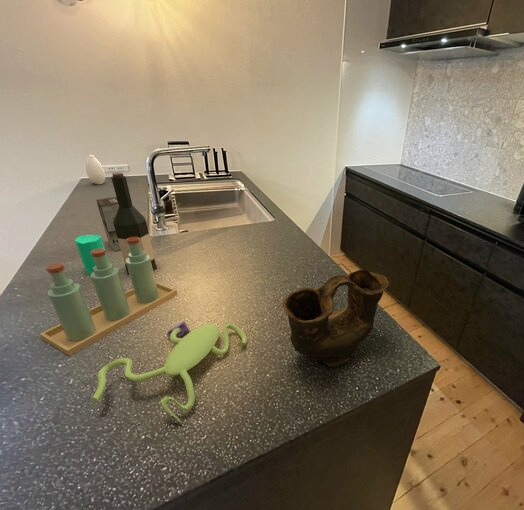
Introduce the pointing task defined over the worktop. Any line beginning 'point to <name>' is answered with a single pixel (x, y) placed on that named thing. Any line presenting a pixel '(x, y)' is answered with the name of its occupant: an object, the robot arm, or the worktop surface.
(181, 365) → the figurine
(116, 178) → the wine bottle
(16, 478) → the worktop surface
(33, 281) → the worktop surface
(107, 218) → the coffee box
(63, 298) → the loose bottle
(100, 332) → the tray
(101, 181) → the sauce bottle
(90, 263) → the green polygonal prism
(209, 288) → the worktop surface
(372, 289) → the pottery vessel
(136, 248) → the tray bottles
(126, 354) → the worktop surface
